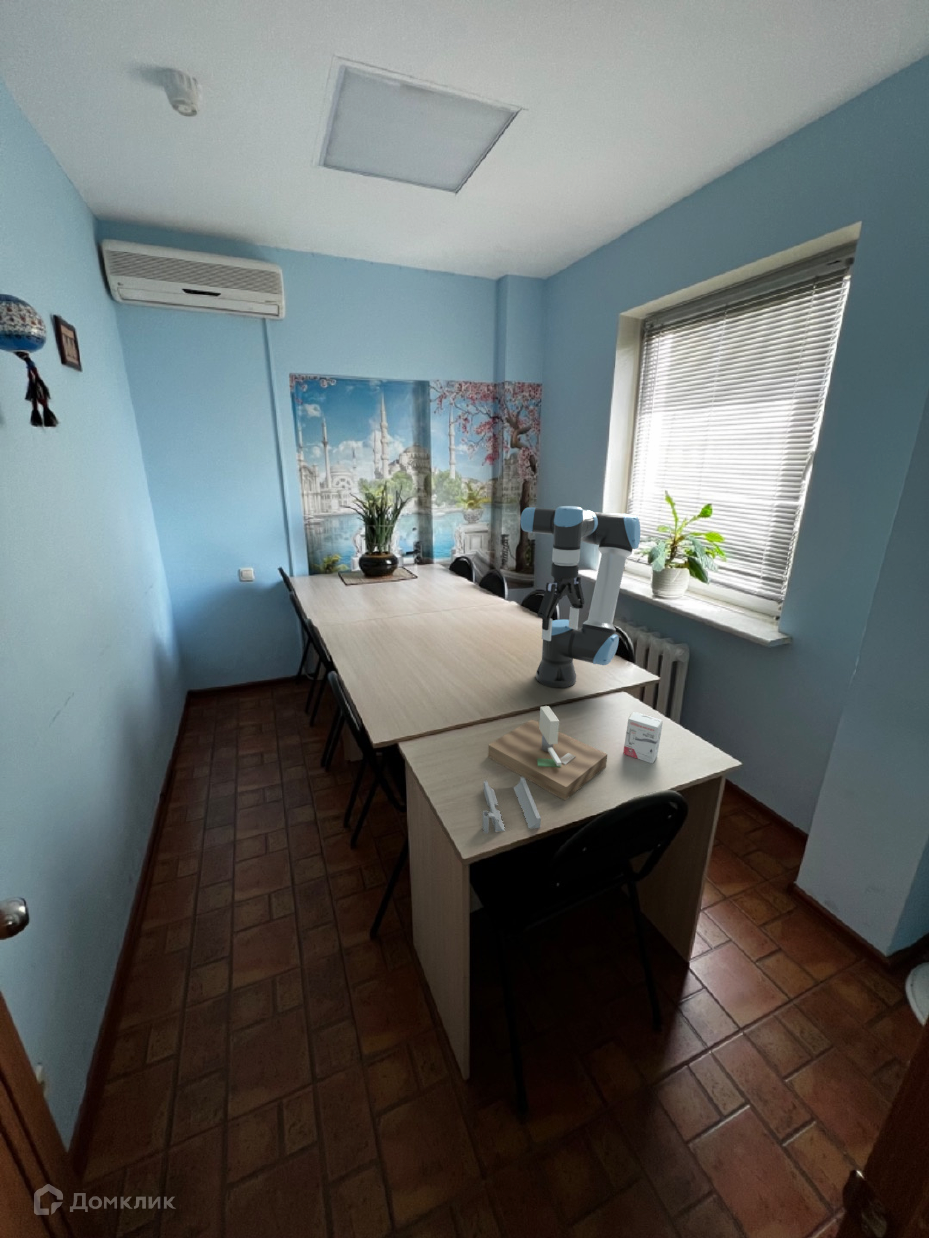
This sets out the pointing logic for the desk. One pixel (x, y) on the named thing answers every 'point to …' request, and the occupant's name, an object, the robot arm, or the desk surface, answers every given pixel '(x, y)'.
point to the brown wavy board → (548, 759)
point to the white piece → (549, 731)
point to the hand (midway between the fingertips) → (560, 634)
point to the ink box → (643, 737)
